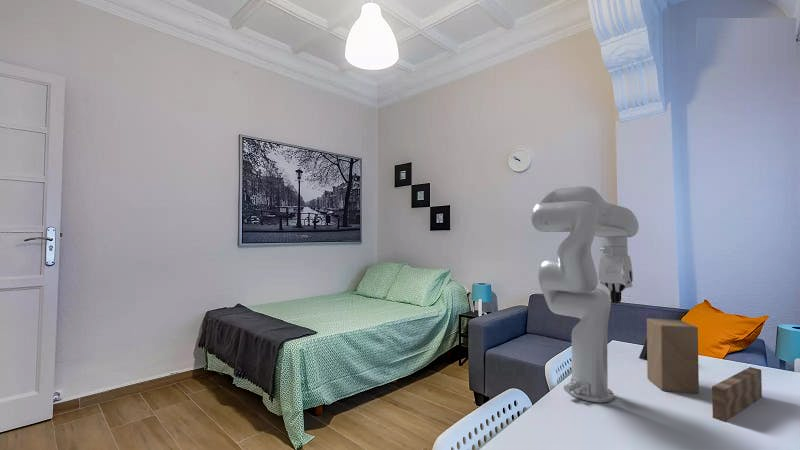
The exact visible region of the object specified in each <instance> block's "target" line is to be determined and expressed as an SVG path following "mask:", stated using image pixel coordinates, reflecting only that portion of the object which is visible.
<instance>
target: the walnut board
mask: <svg viewBox="0 0 800 450" xmlns="http://www.w3.org/2000/svg"><path fill="white" fill-rule="evenodd" d="M762 379H763V378H762V369H760V368H755V367H751V366H749V367H747V368H745V369H743V370H741V371H739V372H738V373H735V374H733V375H731V376H730V377H728V378H725V379H724V380H722V381H720V382H718V383H716V384H714V385H712V386H711V391H712V392H711V400H712V402H711V403H712V407H711V408H712V418H713V419H716V420H719V421H722V422H727V421H728V420H730V419H731V418H733V417H734V416H736V415H737V414H739V413H741V412H742V411H743V410H744V409H747V408H748V407H749V406H750V405H753V404H754V403H755V402H757V401H758V400H760V399H761V398H762V397H763V392H762V391H763V389H762V387H763V386H762V384H763V383H762Z"/></svg>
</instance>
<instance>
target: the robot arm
mask: <svg viewBox="0 0 800 450" xmlns="http://www.w3.org/2000/svg"><path fill="white" fill-rule="evenodd" d="M530 217H531V224H532V226H533V228H534V229H536V230H537V231H538V232H542V233H569V235H567V237H566V238H565V239H564V240H563V241H562V242H561V243H560V245H558V248H557V251H556V256H557V258H549V259H544V260H543V261H541V263H540V265H539V268H538V272H537V273H538V274H537V275H538V276H537V277H538V278H537V279H538V282H539V283H538V284H539V286H540V289H541V291H542V294H543V297H544V300H545V302H546V304H547V307H548V309H549V310H550V311H551V312H552V313H553V314H556V315H560V316H565V317H572V318H577V319H580V321H579V322H578V323H577V324H576V325H575V326H574V327H573V328H572V330H571V377H570V382H568V383H567V384H565V385H564V386H563V390H564V391H565V392H566V393H568V394H570V395H571V396H572V397H575V398H577V399H579V398H580V399H579V400H584V401H587V402H591V403H609V402H612V401H613V400H614V398H615V393H614V392H613V391H612V390H611V389H610V388H609V387H608V385H609V384H608V382H609V379H608V377H609V376H608V367H609V364H608V326H609V317H610V311H611V304H612V303H613V304H619V303H621V301H622V292H624V290H625V289H628V288H633V283H632V282H633V279H634V274H633V266H632V260H631V256H630V255H628V250H629V249H628V238H633V237H634V236H636V235H637V234H638V233H639V228H640V227H639V226H640V225H639V221H638V219H637V216H636V215H635V214H634V212H633V211H632V210H631V209H629V208H627V207H624V206H621V205H619V204H618V205H617V204H615V203H611V202H607V201H606V200H605V199H604V198H603V197H602V195H601V194H600V193H599V192H598V191H597V190H596V189H594V188H593V187H591V186H584V185H581V186H569V187H560V188H559V187H558V188H555V189H553V190H551V191H549V192H548V193H547V194H545V196H543V197H542V198H541V199H540V200H539V201H538V202H537V203H536V204H535V206H534V207H533V209H532V212H531V216H530ZM595 237H598V238H602V247H600V248H599V251H600V252H602V254H600V257H599V262H598V274H597V270H596V265H595V263H594V259H593V255H592V250H591V249H592V246H593V245H592V244H593V242H594V238H595ZM598 283H599V284H600V285H603V286H605V287H606V288H607V289H608V291H609V292H610V293H608V292H606V291H605V290H603V289H600V288H599V287H598V285H599V284H598ZM609 294H610V295H609Z"/></svg>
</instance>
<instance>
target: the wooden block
mask: <svg viewBox="0 0 800 450" xmlns="http://www.w3.org/2000/svg"><path fill="white" fill-rule="evenodd" d="M646 339H647V361H646V363H647V367H646V370H647V372H646V373H647V376H646V377H647V379H648V380H649V382H651V383H652V384H654V385H655V386H656V387H657V388H658V389H660V391H663V392H674V393H675V392H676V393H685V394H686V393H687V394H699V393H700V392H699V391H700V386H699V385H700V384H699V383H700V381H699V379H700V378H699V329H698V326H696V325H693V324H690V323H688V322H685V321H683V320H680V319H671V318H651V317H650V318H649V317H648V318H646Z"/></svg>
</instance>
